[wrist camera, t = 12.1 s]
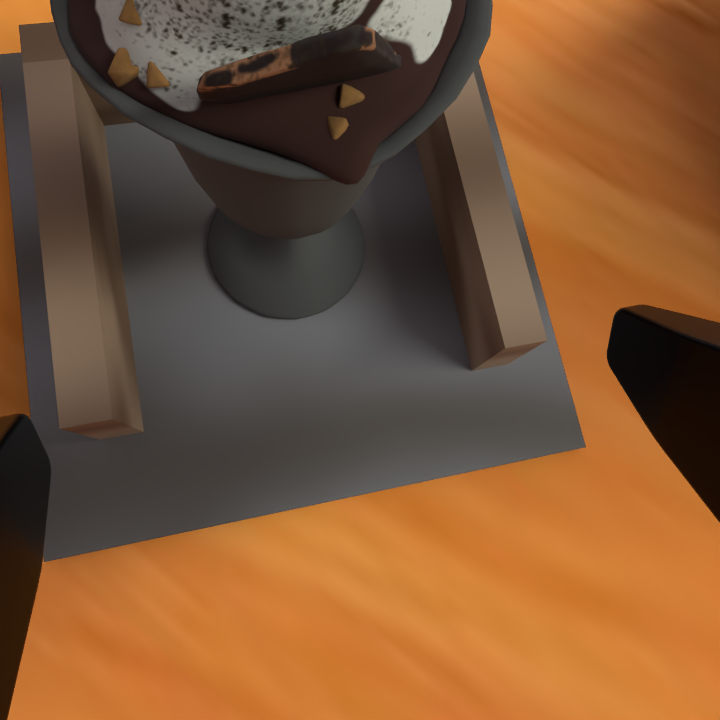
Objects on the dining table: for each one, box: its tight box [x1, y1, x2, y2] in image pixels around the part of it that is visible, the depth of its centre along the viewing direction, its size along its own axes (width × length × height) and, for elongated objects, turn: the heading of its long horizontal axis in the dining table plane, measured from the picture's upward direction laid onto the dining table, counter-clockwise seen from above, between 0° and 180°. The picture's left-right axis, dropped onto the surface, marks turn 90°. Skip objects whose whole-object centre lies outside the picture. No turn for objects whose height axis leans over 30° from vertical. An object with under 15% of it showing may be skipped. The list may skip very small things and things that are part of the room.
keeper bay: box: [0, 22, 586, 562], centre depth 17 cm, size 16×16×4 cm
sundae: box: [50, 0, 493, 320], centre depth 11 cm, size 7×7×15 cm
